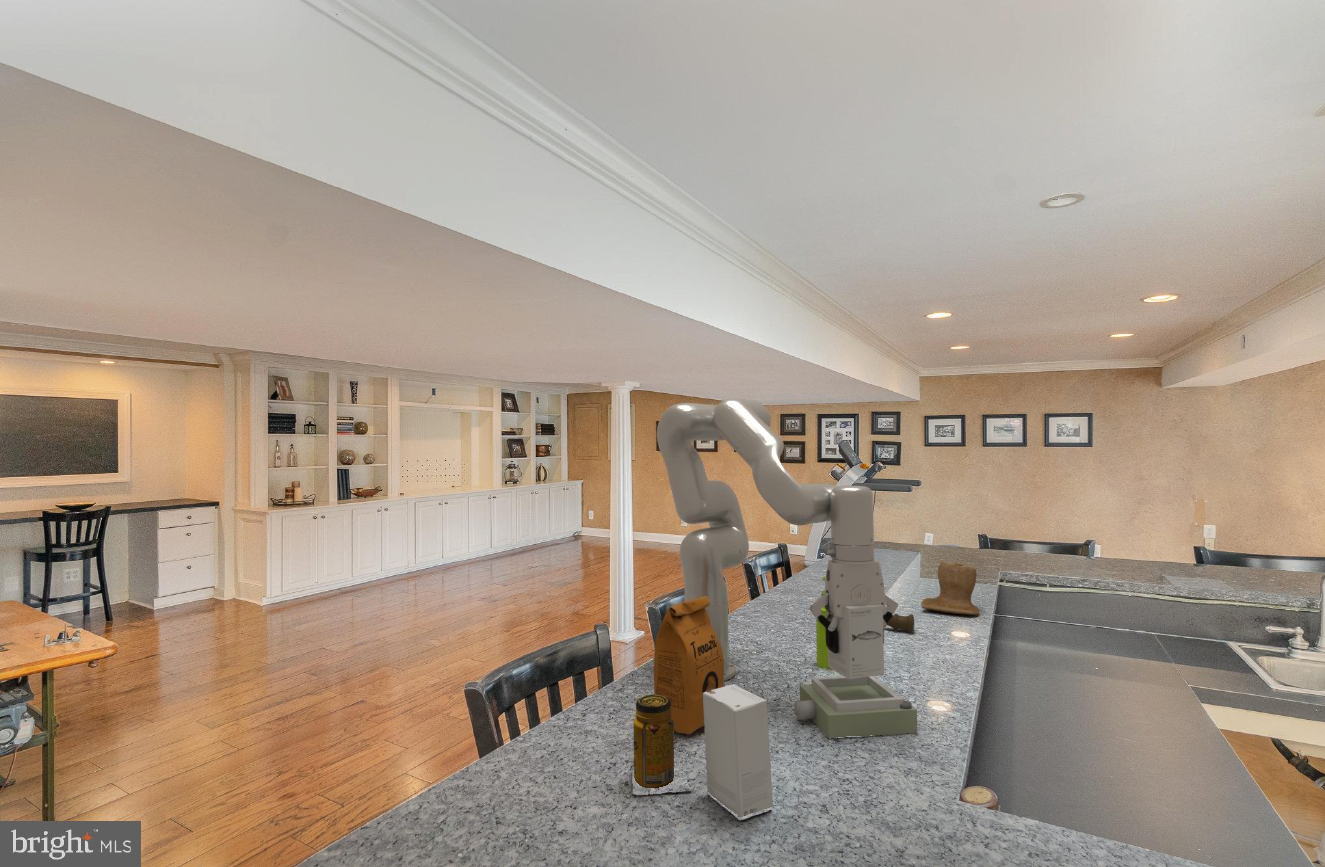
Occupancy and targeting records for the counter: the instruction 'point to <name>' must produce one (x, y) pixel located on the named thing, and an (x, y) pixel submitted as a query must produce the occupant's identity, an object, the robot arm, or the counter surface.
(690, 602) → the coffee package
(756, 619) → the counter surface
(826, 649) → the soap dispenser
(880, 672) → the supplement box
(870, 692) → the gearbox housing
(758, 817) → the counter surface
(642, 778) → the condiment
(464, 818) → the counter surface
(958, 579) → the brown boot
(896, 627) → the kendama
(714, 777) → the skincare box
